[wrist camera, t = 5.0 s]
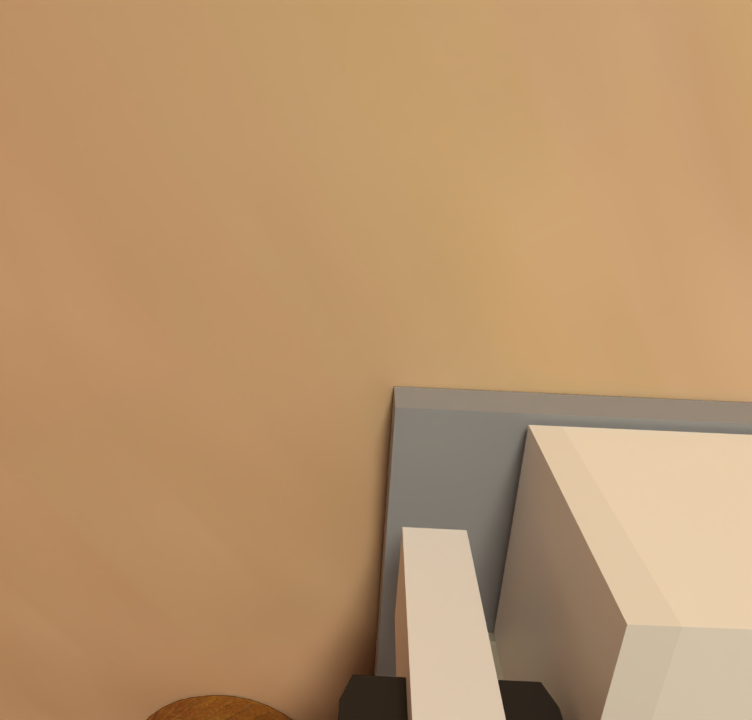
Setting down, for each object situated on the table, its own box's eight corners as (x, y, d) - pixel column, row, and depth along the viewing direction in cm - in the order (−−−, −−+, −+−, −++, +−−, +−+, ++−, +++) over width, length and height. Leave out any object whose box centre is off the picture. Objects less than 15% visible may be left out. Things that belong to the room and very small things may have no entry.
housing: (493, 632, 17) (553, 892, 11) (528, 424, 14) (627, 624, 9) (803, 644, 17) (1014, 905, 11) (891, 441, 14) (1219, 647, 9)
